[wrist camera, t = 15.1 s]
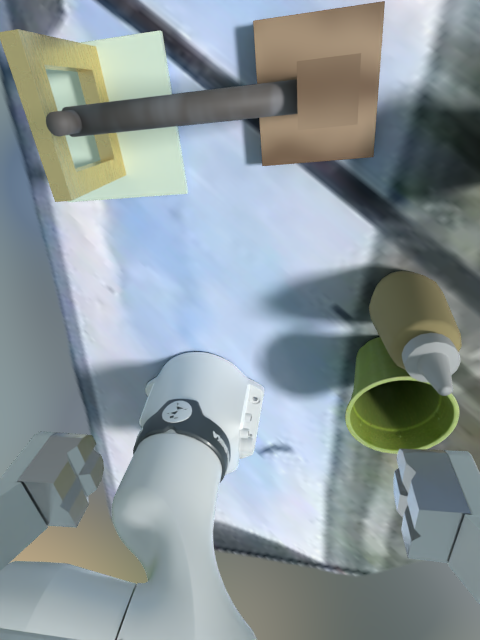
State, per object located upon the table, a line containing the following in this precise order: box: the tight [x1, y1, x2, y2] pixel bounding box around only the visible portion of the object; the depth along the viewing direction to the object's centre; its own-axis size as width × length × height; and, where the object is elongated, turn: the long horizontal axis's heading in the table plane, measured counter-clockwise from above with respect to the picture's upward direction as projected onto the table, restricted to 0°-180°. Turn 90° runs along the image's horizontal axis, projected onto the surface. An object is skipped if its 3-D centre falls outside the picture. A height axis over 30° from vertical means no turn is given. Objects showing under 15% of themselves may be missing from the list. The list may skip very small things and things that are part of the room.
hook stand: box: [46, 1, 385, 166], centre depth 28 cm, size 12×20×22 cm, turn 96°
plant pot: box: [345, 337, 459, 454], centre depth 47 cm, size 12×12×11 cm
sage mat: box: [45, 31, 188, 202], centre depth 41 cm, size 15×15×1 cm
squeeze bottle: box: [369, 271, 461, 396], centre depth 39 cm, size 8×8×18 cm
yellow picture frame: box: [0, 29, 126, 202], centre depth 35 cm, size 12×2×12 cm, turn 6°
